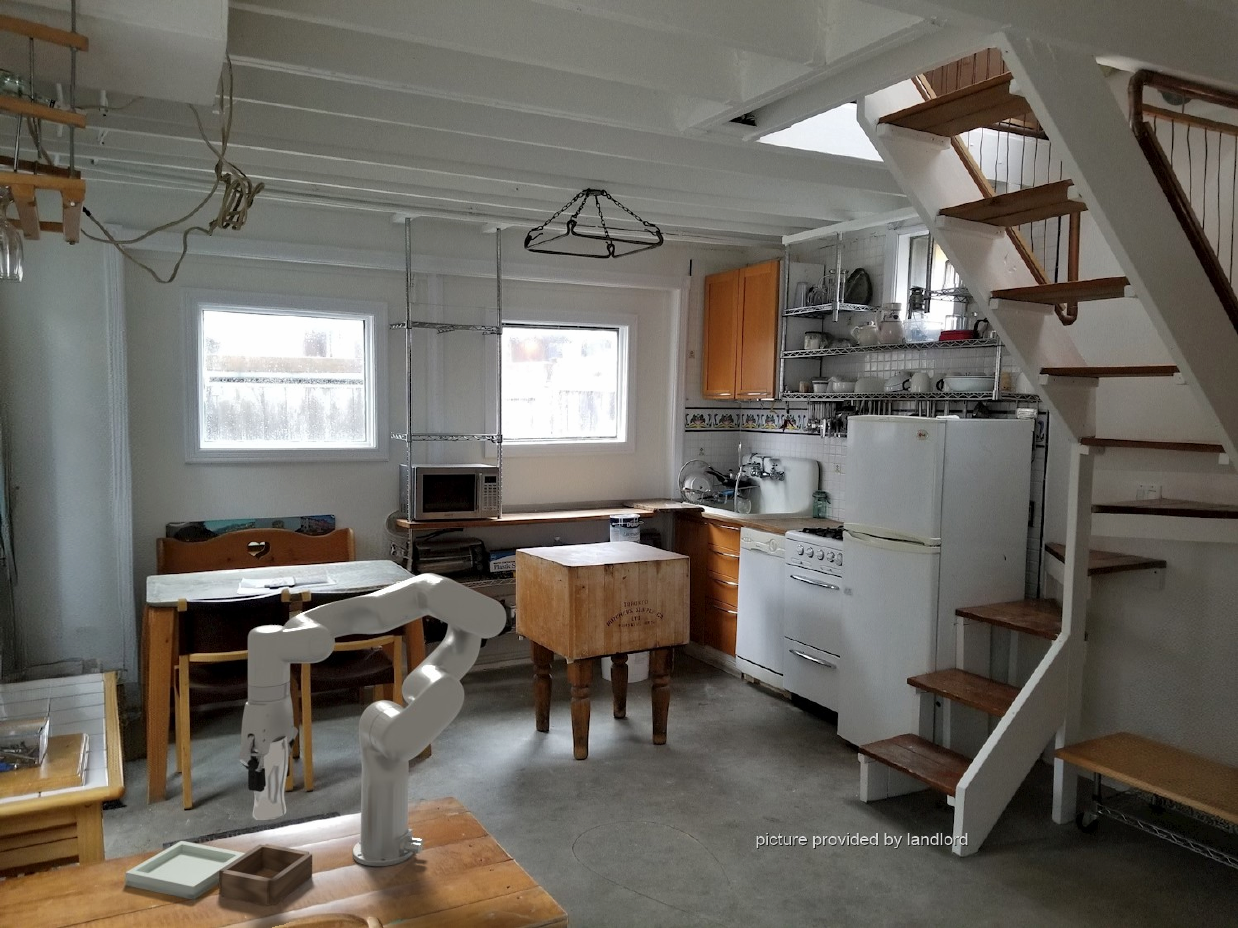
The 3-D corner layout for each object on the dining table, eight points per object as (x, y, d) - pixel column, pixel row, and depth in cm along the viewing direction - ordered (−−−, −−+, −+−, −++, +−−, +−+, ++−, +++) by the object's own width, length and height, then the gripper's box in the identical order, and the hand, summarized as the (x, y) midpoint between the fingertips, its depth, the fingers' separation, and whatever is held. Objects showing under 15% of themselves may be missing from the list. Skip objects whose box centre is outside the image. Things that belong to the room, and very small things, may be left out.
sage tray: (245, 865, 178) (245, 852, 178) (193, 899, 165) (193, 886, 165) (181, 852, 183) (181, 840, 183) (125, 884, 169) (125, 872, 169)
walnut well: (313, 875, 175) (314, 852, 175) (272, 906, 163) (272, 882, 163) (261, 864, 178) (261, 842, 178) (216, 894, 167) (217, 871, 166)
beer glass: (275, 823, 166) (274, 745, 166) (242, 819, 168) (241, 742, 167) (295, 807, 173) (295, 732, 172) (263, 804, 175) (263, 729, 174)
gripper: (282, 677, 179) (282, 764, 180) (220, 702, 162) (220, 798, 163) (313, 680, 177) (313, 768, 177) (254, 706, 160) (254, 803, 161)
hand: (269, 782), depth 170 cm, fingers closed on beer glass, 6 cm apart
